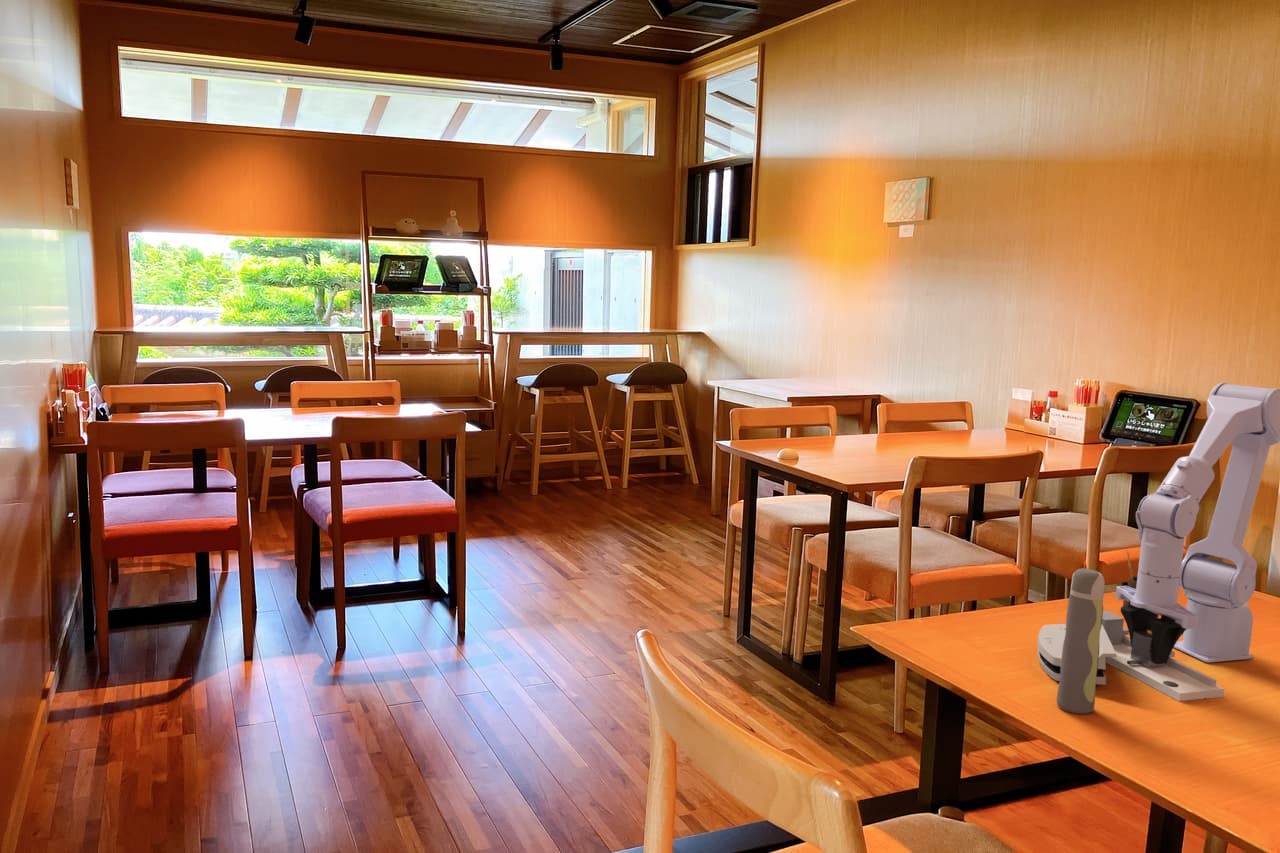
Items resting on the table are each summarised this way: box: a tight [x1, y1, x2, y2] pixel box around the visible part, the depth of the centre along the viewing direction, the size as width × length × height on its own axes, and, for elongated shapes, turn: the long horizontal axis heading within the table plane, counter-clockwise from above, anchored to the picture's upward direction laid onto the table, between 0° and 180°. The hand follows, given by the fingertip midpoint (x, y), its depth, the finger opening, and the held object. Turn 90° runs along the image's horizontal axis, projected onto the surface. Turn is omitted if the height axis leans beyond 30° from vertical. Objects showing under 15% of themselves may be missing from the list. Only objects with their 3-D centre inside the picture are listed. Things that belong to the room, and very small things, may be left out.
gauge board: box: [1102, 610, 1226, 702], centre depth 153 cm, size 22×8×6 cm, turn 16°
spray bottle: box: [1056, 567, 1106, 715], centre depth 137 cm, size 5×5×20 cm
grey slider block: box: [1127, 628, 1176, 667], centre depth 153 cm, size 4×7×5 cm, turn 106°
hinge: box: [1036, 623, 1116, 686], centre depth 153 cm, size 17×5×10 cm
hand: (1149, 657), depth 153 cm, fingers closed on grey slider block, 4 cm apart
